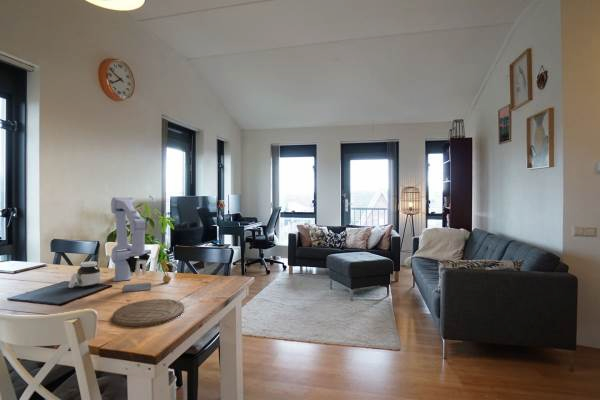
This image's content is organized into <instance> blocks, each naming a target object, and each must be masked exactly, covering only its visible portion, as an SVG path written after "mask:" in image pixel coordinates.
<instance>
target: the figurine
mask: <svg viewBox="0 0 600 400" xmlns="http://www.w3.org/2000/svg"><path fill="white" fill-rule="evenodd" d="M161 264H162V269H163V274H164V276H163V277H162V281H163V283H167V284H168V283H170V282H171V280H172V276H171V275H170V274H169V273H168V272H169V268H168V265H167V264H169V266H171V267H173V265H172V264H171V262H170V261H168V260H167V259H163V260H161V261H160V262H159V263H158V264H157V265H158V266H157V267H158V268H157V270H158V271H159V270H160V265H161Z"/></svg>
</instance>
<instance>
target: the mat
mask: <svg viewBox="0 0 600 400" xmlns="http://www.w3.org/2000/svg"><path fill="white" fill-rule="evenodd" d="M151 290H152V283H151V282H145V283H144V282H142V283H134V284H133V283H132V284H124V285H123V289H122V291H121V292H122V294H123V293H132V292H134V293H135V292H144V291H151Z"/></svg>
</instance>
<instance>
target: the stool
mask: <svg viewBox="0 0 600 400" xmlns="http://www.w3.org/2000/svg"><path fill="white" fill-rule="evenodd" d="M140 264H142V270H141V269H140ZM140 274H142V276H143V275H147V263H146V260H140V259H139V258H137V262H136V268H135V277H136V278H138V277H140ZM129 276H131V277H132V276H134V272H131V271H130V268H129Z"/></svg>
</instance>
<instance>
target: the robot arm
mask: <svg viewBox="0 0 600 400" xmlns="http://www.w3.org/2000/svg"><path fill="white" fill-rule="evenodd" d="M134 206H135V200H134V198H133V197H116V196H113V197H112V198H111V202H110V211H111V214H113V215H114V216H115V225H116V226H115V228H116V240H117V241H116V242H117V243H116V245H115V246H114V247H112V248H111V261H112V263H113V264H114V278H113V280H112V281H113V282H120V281H130V280H131V279H132V276H129V268H130V271H131V272H133V273H136V262H137V259H140V260H146V264H147V263H148V261H149V259H150V257H151V254H152V250H151V249H146V250H145V247H146V245H145V242H146V239H145V238H146V237H145V234H146V230H147V228H148V221H147V218H145V217H142V216H141V214H140V213H139V211H138V210H135V208H134ZM127 220H128V222H129V229H130V234H131V244H128V231H127ZM136 257H138V258H136ZM140 271H142V264H140Z"/></svg>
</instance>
